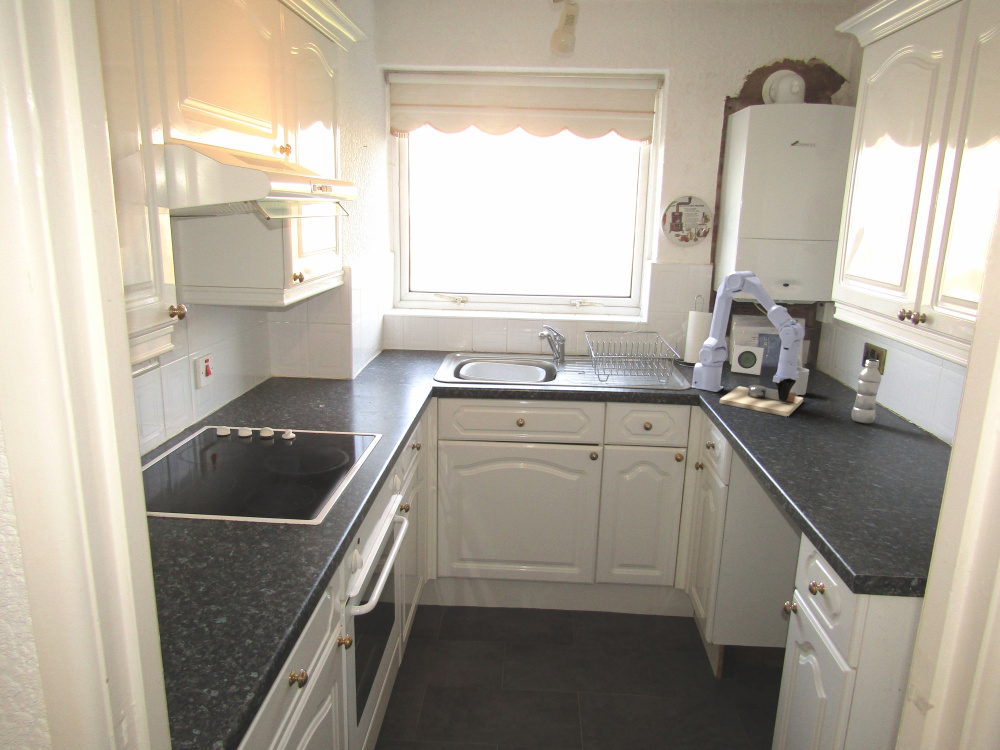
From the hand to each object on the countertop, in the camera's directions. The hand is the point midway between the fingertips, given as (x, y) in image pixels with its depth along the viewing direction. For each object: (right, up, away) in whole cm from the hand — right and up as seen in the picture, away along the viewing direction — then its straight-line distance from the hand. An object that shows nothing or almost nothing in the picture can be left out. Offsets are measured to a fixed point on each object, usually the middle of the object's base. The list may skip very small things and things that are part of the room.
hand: (782, 400), depth 228 cm
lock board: (-5, -1, +5) cm, 7 cm away
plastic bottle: (+20, -7, -13) cm, 24 cm away
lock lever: (-2, +1, +4) cm, 5 cm away
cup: (+11, +2, +19) cm, 22 cm away
